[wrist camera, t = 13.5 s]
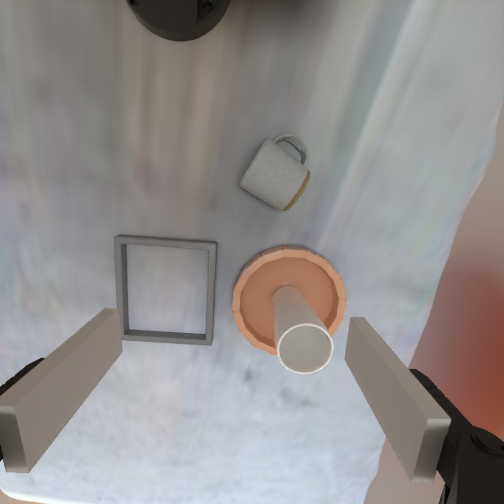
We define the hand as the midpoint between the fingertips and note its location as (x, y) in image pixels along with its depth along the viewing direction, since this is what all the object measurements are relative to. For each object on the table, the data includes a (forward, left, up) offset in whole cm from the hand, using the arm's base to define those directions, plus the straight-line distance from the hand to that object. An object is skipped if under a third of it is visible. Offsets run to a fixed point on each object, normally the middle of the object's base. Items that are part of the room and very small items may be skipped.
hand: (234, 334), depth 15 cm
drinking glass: (+9, +8, -29) cm, 31 cm away
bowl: (+9, +8, -29) cm, 31 cm away
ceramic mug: (-12, +4, -29) cm, 32 cm away
